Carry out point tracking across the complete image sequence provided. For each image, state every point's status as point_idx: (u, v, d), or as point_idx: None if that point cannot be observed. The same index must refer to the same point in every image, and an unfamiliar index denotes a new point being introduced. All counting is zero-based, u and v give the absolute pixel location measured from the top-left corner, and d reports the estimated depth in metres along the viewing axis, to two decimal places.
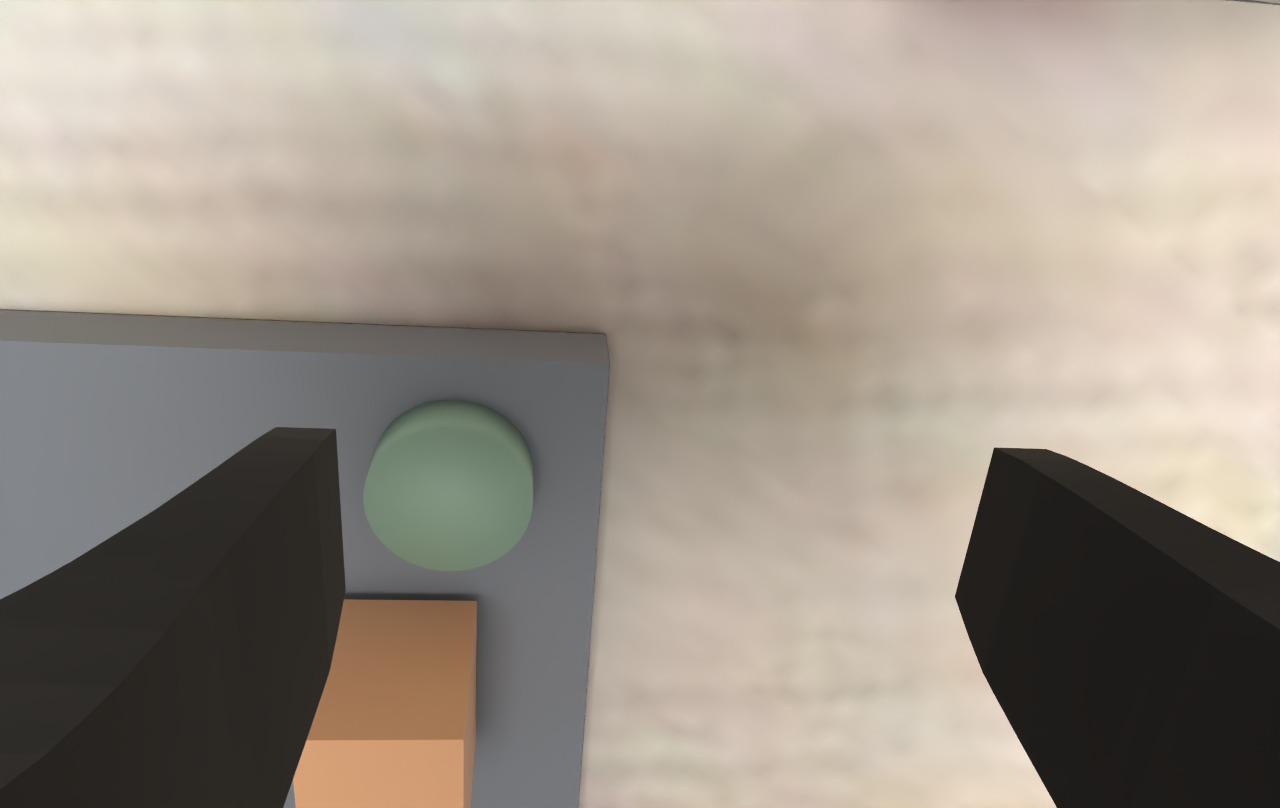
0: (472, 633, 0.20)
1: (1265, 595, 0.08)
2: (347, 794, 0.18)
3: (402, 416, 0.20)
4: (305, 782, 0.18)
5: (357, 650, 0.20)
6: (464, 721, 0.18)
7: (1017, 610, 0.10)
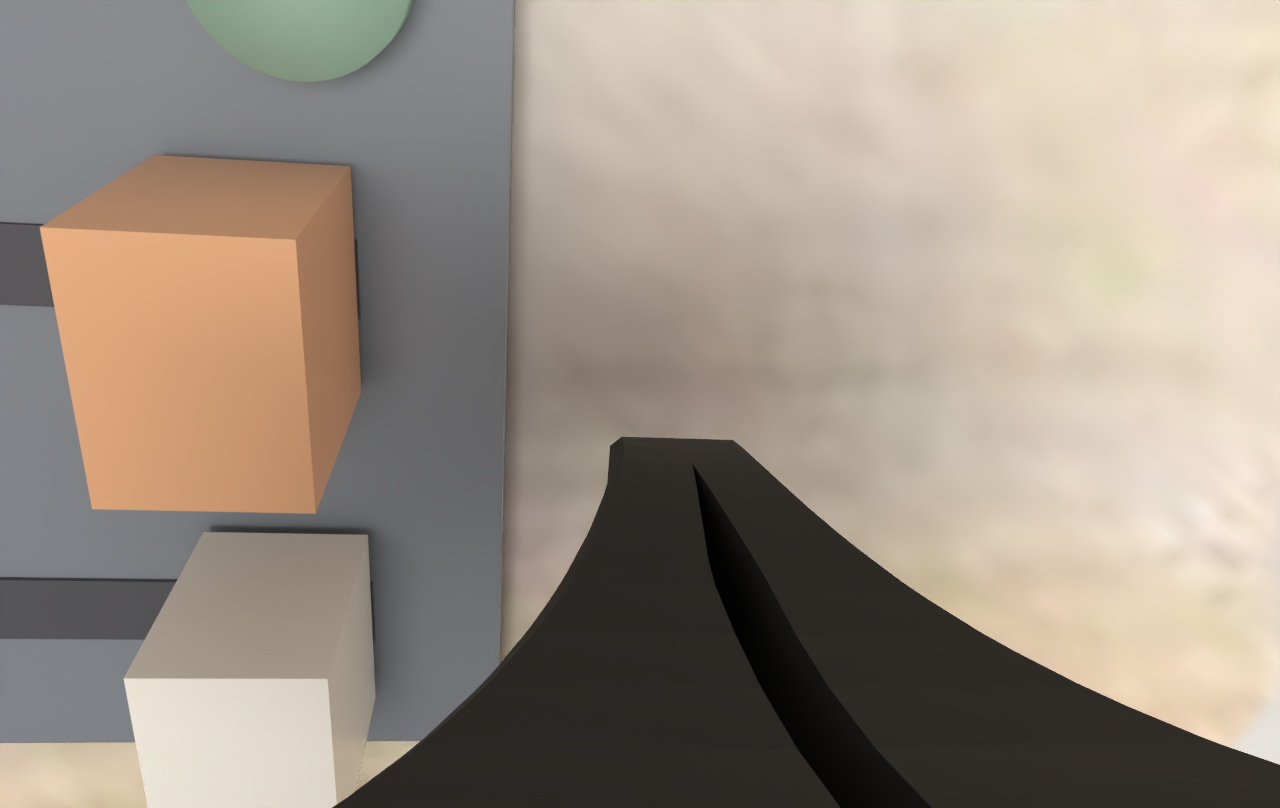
0: (336, 182, 0.15)
1: (815, 590, 0.07)
2: (135, 330, 0.13)
3: None
4: (72, 305, 0.13)
5: (171, 182, 0.14)
6: (302, 229, 0.13)
7: None
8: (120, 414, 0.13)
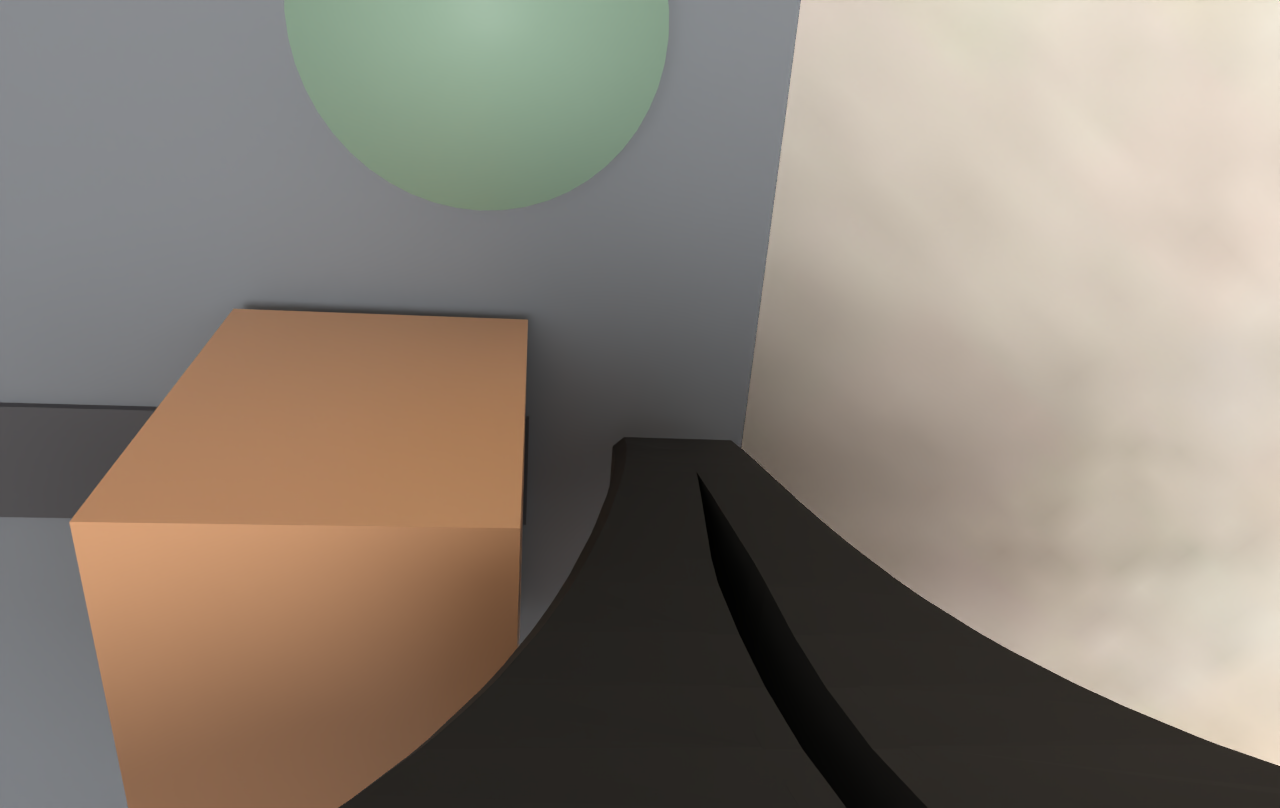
0: (523, 360, 0.10)
1: (814, 590, 0.07)
2: (232, 674, 0.07)
3: None
4: (125, 640, 0.07)
5: (274, 376, 0.09)
6: (519, 495, 0.07)
7: None
8: (203, 793, 0.08)
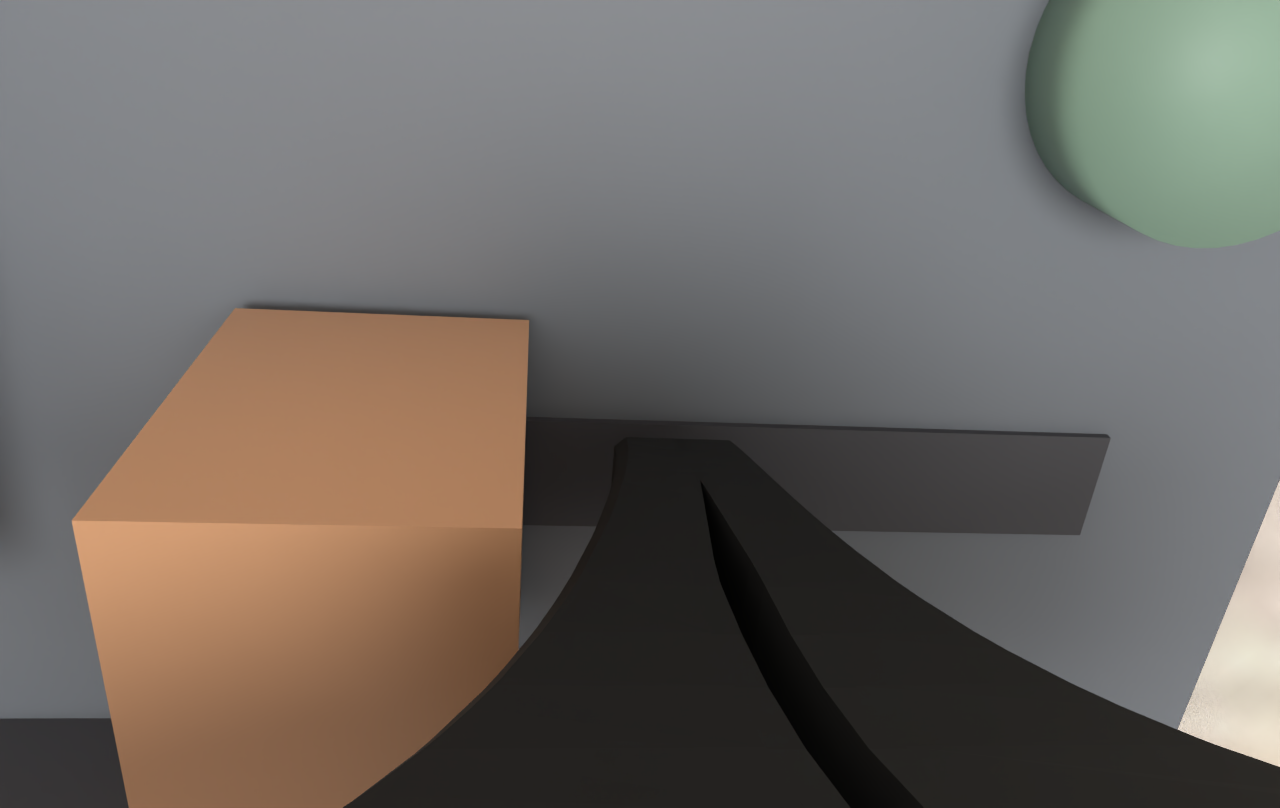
0: (525, 360, 0.10)
1: (810, 590, 0.07)
2: (234, 674, 0.07)
3: None
4: (126, 639, 0.07)
5: (275, 376, 0.09)
6: (520, 495, 0.07)
7: None
8: (203, 792, 0.08)
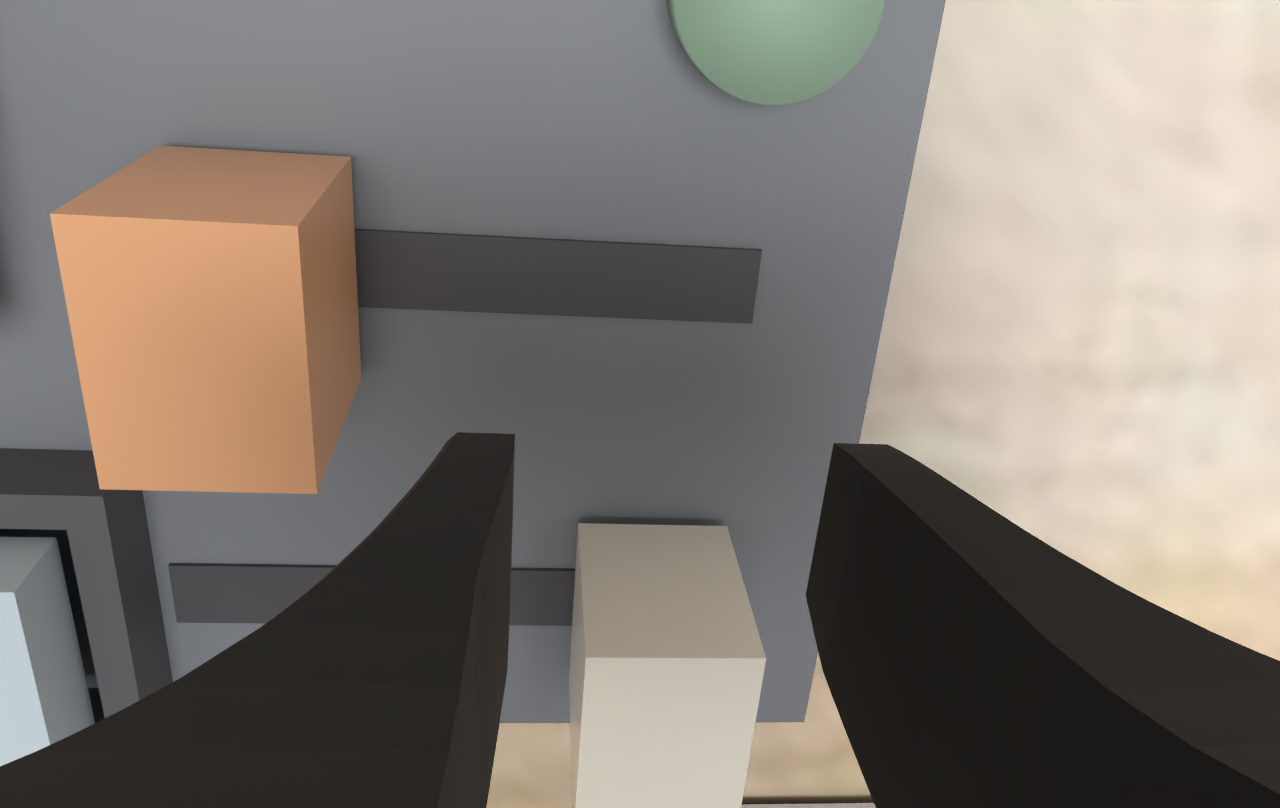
0: (337, 171, 0.15)
1: (1040, 592, 0.07)
2: (142, 314, 0.13)
3: None
4: (81, 290, 0.13)
5: (177, 172, 0.15)
6: (304, 216, 0.13)
7: (847, 609, 0.10)
8: (127, 396, 0.14)
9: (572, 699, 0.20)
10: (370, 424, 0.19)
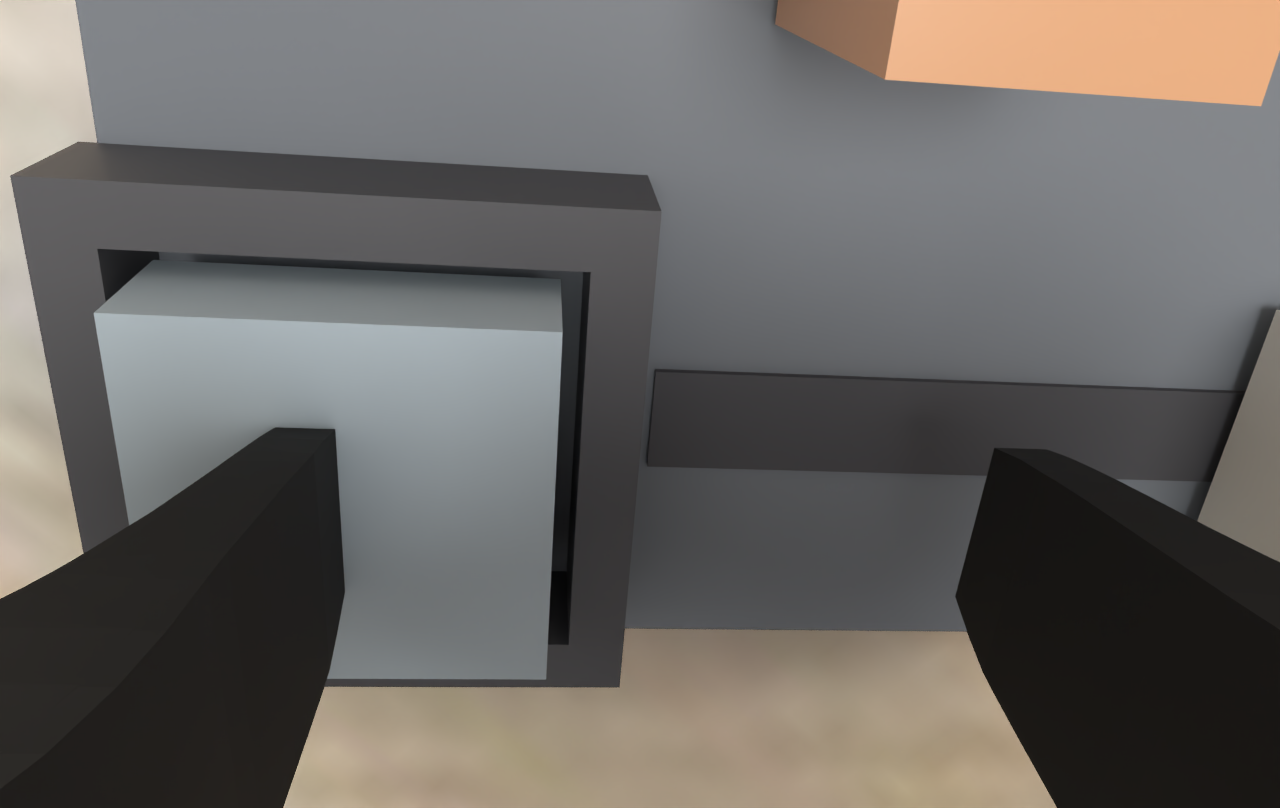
0: None
1: (1267, 595, 0.08)
2: None
3: None
4: None
5: None
6: None
7: (1017, 611, 0.10)
8: None
9: None
10: (1008, 136, 0.12)
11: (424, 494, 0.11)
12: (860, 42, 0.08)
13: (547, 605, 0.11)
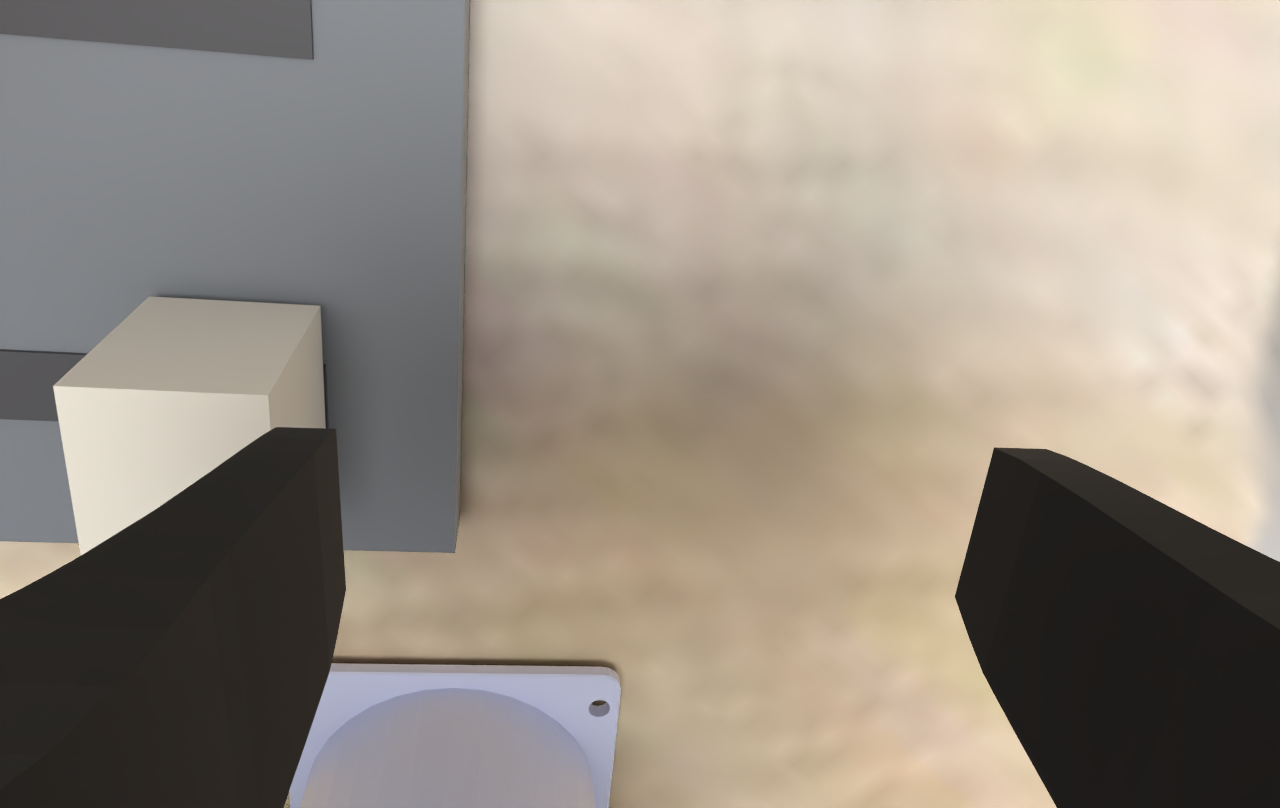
0: None
1: (1266, 595, 0.08)
2: None
3: None
4: None
5: None
6: None
7: (1017, 611, 0.10)
8: None
9: None
10: None
11: None
12: None
13: None
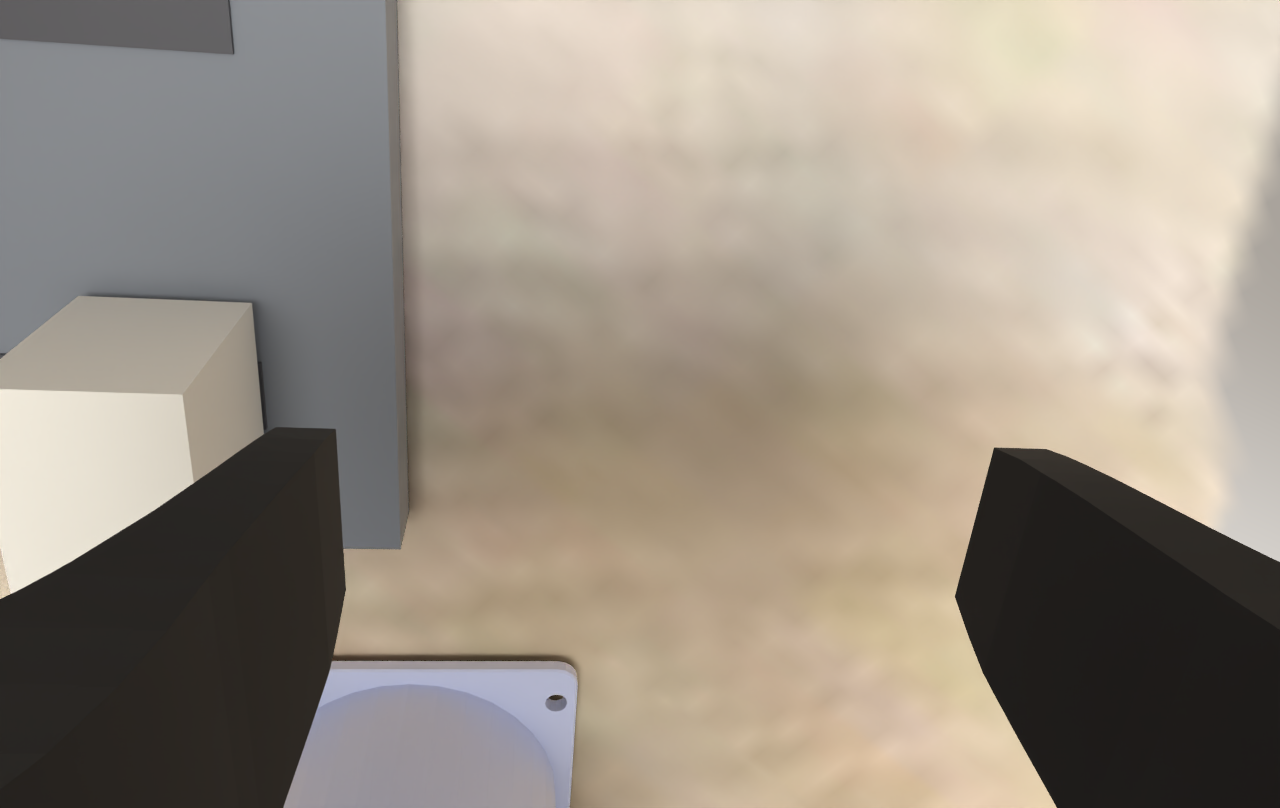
0: None
1: (1265, 595, 0.08)
2: None
3: None
4: None
5: None
6: None
7: (1018, 611, 0.10)
8: None
9: None
10: None
11: None
12: None
13: None
